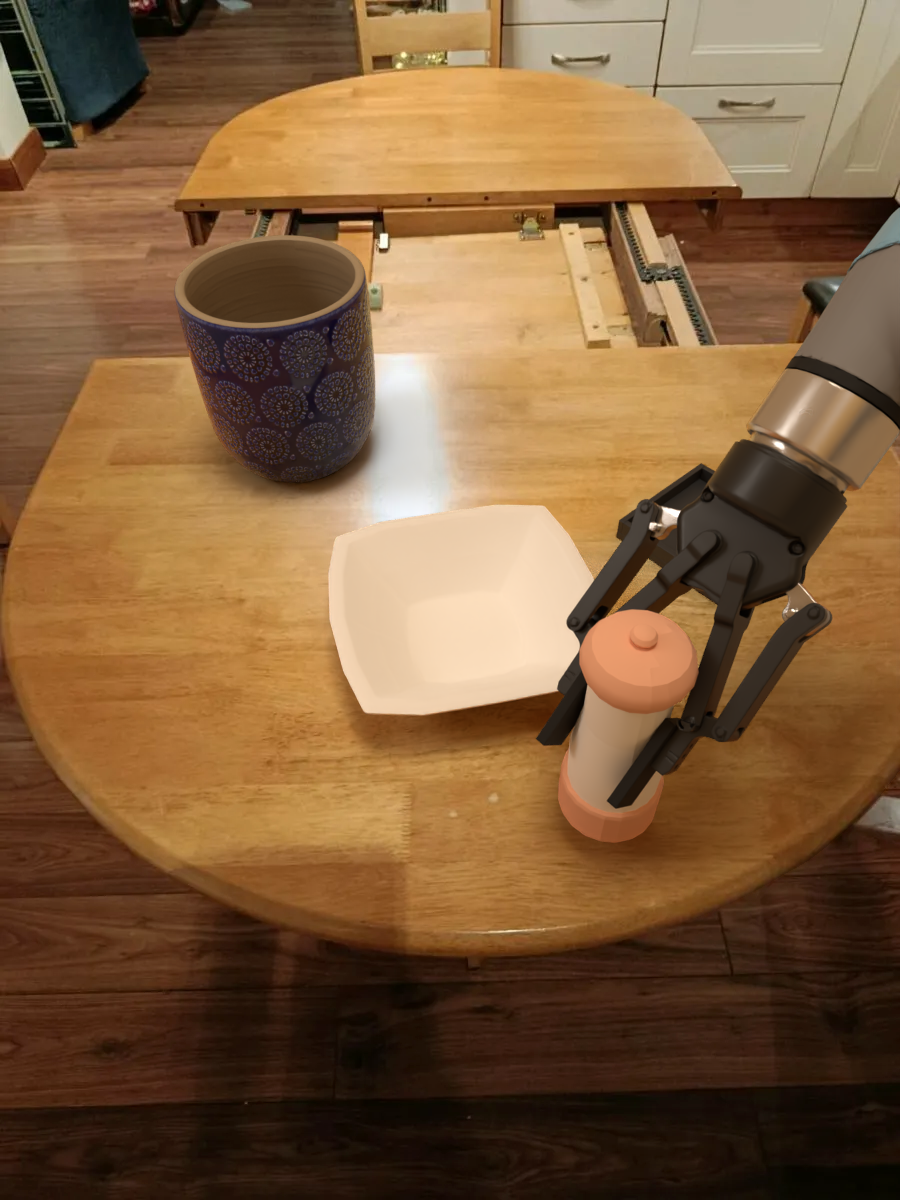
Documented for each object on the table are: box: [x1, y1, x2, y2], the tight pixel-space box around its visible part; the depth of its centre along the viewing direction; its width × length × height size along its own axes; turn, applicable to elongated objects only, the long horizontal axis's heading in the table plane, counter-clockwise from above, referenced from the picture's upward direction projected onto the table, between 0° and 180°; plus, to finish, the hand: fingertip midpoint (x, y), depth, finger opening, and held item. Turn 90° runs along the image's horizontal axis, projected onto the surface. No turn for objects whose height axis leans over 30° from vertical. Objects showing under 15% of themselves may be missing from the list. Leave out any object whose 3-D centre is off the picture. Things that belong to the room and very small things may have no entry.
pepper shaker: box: [557, 609, 699, 844], centre depth 56 cm, size 7×7×19 cm
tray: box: [615, 462, 718, 605], centre depth 85 cm, size 13×13×2 cm
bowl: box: [327, 503, 607, 717], centre depth 75 cm, size 22×23×6 cm
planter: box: [173, 234, 376, 483], centre depth 88 cm, size 18×18×21 cm
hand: (583, 771), depth 56 cm, fingers closed on pepper shaker, 5 cm apart
